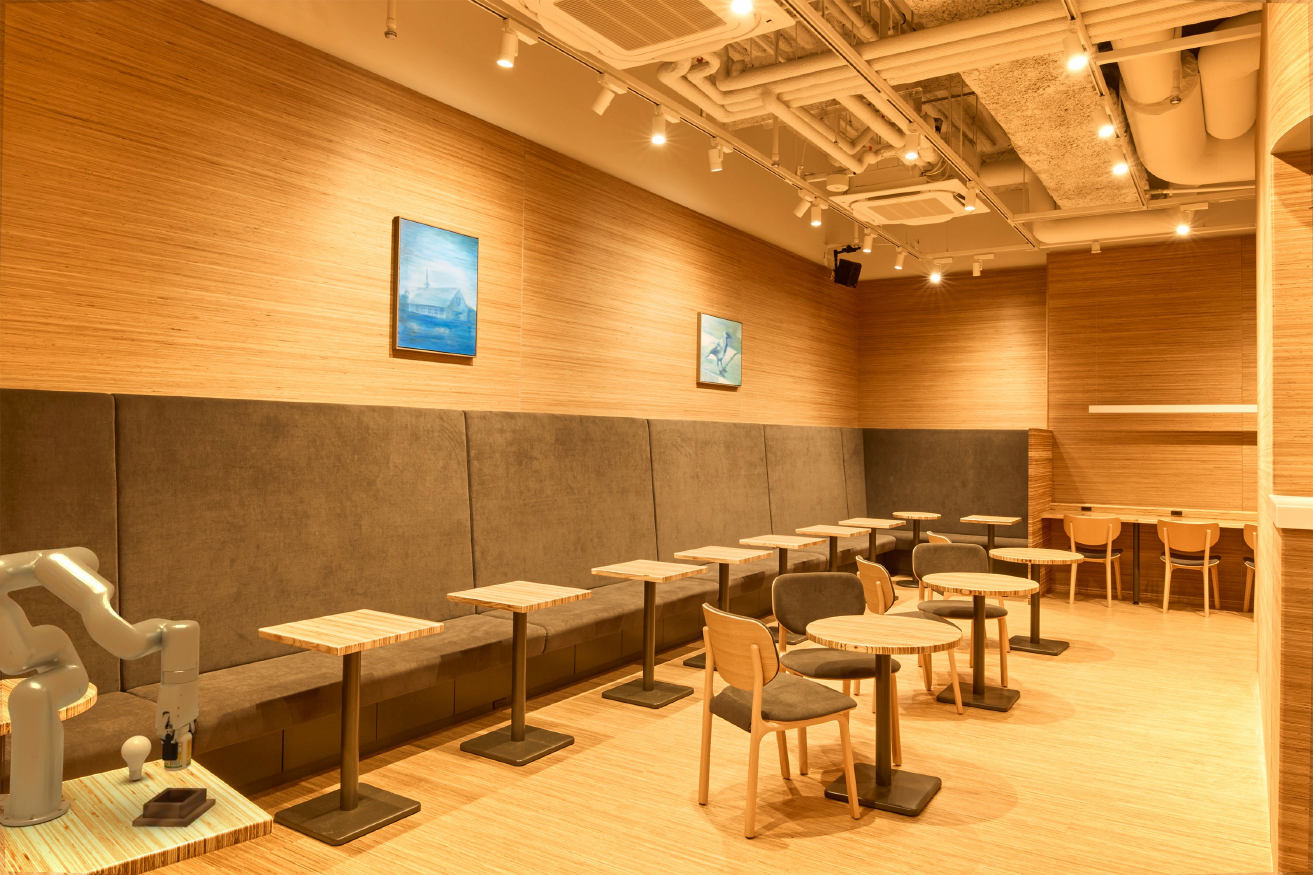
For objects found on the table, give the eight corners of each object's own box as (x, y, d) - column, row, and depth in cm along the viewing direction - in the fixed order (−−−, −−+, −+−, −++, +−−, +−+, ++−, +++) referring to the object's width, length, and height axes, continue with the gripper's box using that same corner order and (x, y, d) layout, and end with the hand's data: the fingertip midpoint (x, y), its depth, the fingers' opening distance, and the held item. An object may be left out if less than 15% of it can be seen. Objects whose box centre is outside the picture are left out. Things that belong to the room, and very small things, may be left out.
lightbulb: (135, 786, 200) (137, 741, 200) (113, 783, 201) (115, 739, 201) (156, 776, 206) (157, 733, 206) (134, 774, 207) (136, 730, 208)
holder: (132, 826, 179) (132, 806, 179) (164, 802, 191) (165, 784, 191) (186, 826, 179) (187, 807, 179) (215, 803, 191) (216, 785, 191)
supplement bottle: (171, 773, 182) (172, 730, 182) (159, 768, 184) (160, 726, 185) (195, 765, 186) (197, 724, 186) (183, 761, 189) (184, 719, 189)
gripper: (184, 665, 194) (182, 741, 194) (140, 685, 177) (137, 769, 177) (216, 666, 194) (214, 741, 194) (174, 686, 177) (172, 769, 177)
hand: (177, 754), depth 185 cm, fingers closed on supplement bottle, 5 cm apart
